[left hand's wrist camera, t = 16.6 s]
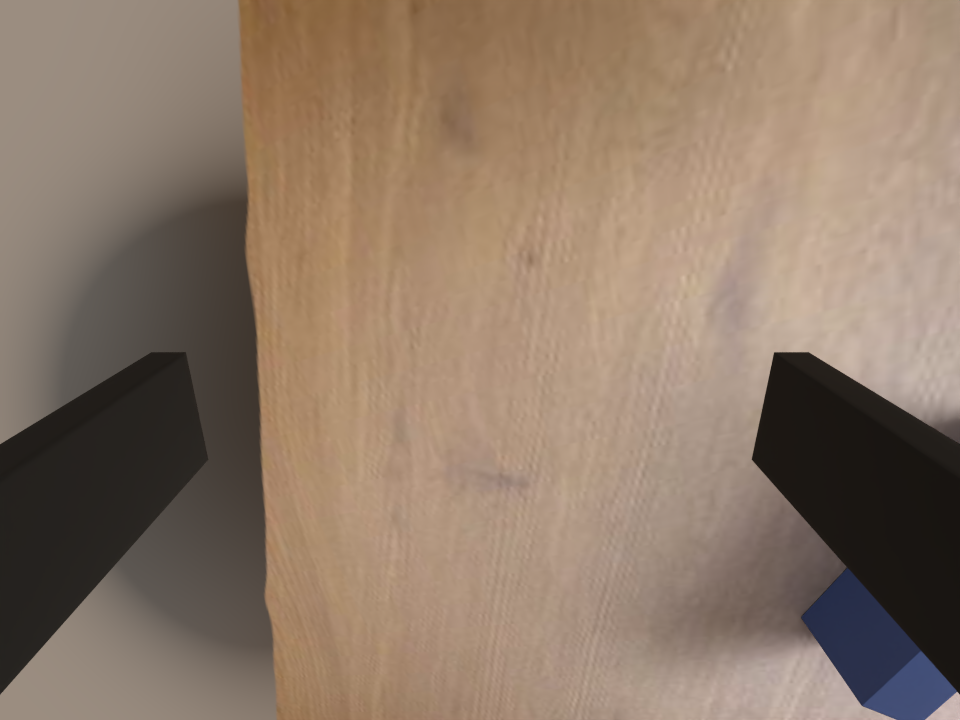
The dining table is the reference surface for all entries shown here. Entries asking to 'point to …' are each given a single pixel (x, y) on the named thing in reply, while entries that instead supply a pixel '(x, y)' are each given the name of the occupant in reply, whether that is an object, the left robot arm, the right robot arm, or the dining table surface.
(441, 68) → the dining table surface
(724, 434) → the dining table surface
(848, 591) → the bar
